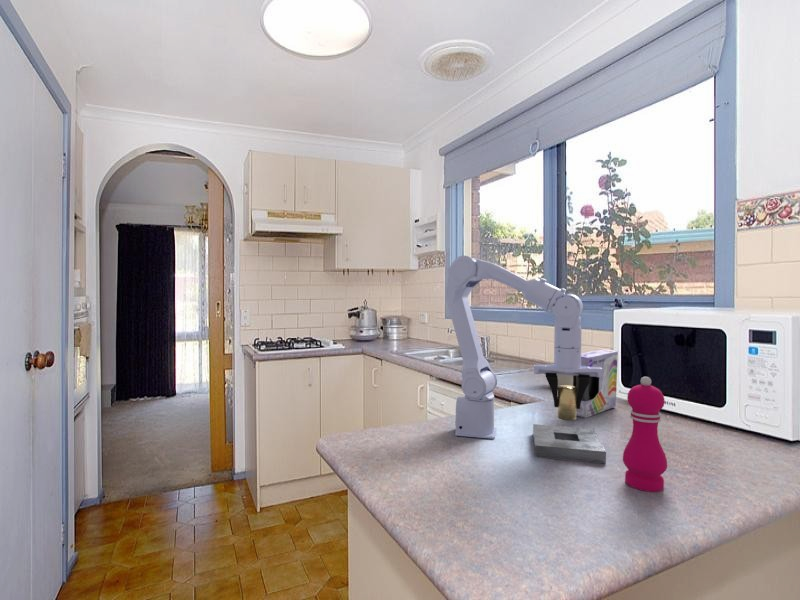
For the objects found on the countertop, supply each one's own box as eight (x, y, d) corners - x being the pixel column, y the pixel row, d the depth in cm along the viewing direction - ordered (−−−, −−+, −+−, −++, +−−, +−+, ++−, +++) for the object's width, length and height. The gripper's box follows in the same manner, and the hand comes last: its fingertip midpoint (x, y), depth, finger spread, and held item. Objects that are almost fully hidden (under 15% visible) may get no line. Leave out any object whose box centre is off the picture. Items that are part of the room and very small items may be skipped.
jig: (535, 456, 97) (535, 445, 97) (533, 434, 113) (533, 424, 113) (605, 463, 94) (606, 451, 94) (593, 439, 109) (593, 428, 109)
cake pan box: (585, 419, 126) (586, 355, 126) (568, 415, 130) (569, 353, 130) (618, 408, 138) (619, 350, 138) (602, 405, 142) (602, 348, 142)
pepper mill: (662, 479, 86) (664, 374, 86) (671, 495, 79) (673, 381, 79) (619, 474, 88) (621, 371, 88) (625, 489, 82) (627, 378, 81)
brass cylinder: (556, 419, 102) (557, 388, 101) (558, 414, 105) (558, 384, 105) (575, 421, 100) (576, 390, 100) (576, 416, 104) (577, 386, 103)
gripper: (534, 348, 101) (533, 409, 101) (605, 350, 97) (604, 413, 97) (533, 344, 108) (533, 401, 108) (599, 346, 104) (598, 405, 104)
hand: (566, 407), depth 103 cm, fingers closed on brass cylinder, 4 cm apart
